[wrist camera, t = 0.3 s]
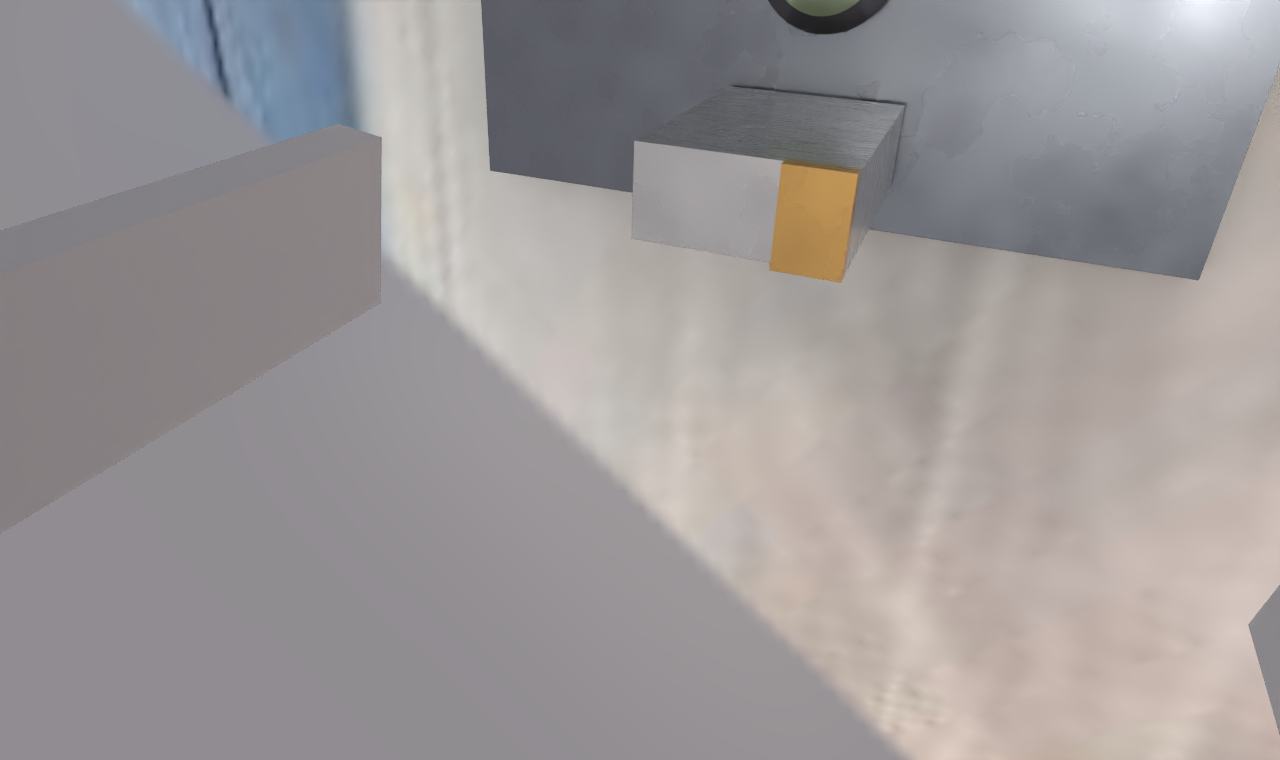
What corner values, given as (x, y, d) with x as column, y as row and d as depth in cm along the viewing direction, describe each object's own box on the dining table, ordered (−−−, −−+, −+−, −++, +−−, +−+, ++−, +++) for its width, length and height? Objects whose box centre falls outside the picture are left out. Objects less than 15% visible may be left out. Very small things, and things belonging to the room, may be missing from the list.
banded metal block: (728, 84, 35) (628, 142, 27) (905, 104, 33) (858, 173, 24) (721, 165, 37) (625, 244, 28) (890, 189, 35) (841, 282, 26)
